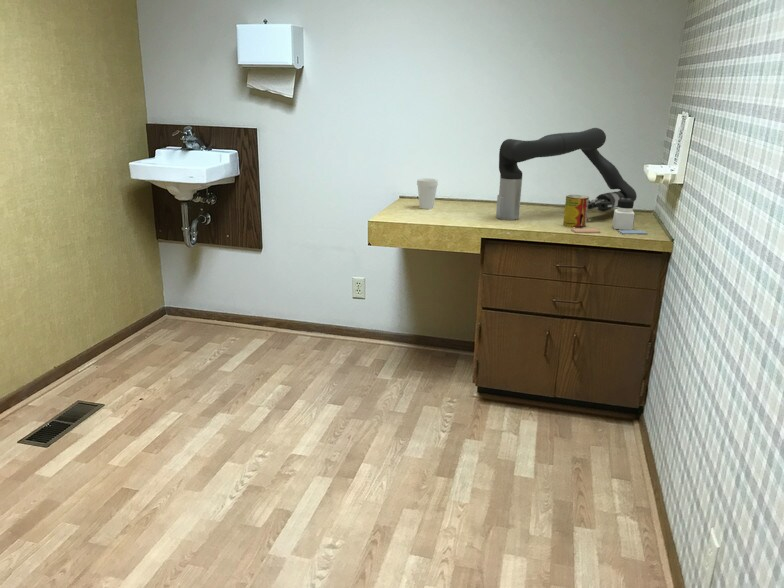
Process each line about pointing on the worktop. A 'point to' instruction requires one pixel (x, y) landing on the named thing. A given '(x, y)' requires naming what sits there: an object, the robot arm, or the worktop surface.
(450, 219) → the worktop surface
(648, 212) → the worktop surface
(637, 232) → the slate-blue tag
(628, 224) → the medicine bottle
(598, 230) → the terracotta tag
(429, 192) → the foam cup
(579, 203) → the yellow red tin can
